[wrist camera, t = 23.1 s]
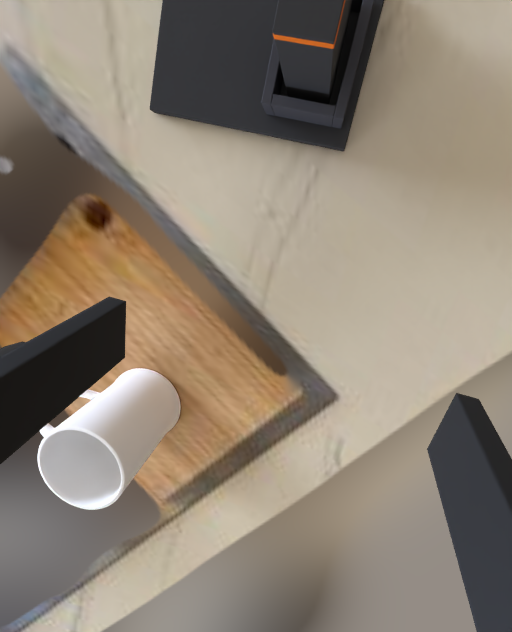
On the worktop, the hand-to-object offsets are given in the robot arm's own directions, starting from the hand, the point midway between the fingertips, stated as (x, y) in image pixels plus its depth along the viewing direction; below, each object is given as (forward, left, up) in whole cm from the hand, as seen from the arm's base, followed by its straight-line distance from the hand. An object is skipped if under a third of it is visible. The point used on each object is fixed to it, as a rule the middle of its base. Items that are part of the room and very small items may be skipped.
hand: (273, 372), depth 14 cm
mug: (-2, +23, -22) cm, 32 cm away
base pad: (+19, -6, -22) cm, 30 cm away
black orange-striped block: (+16, -10, -21) cm, 28 cm away
